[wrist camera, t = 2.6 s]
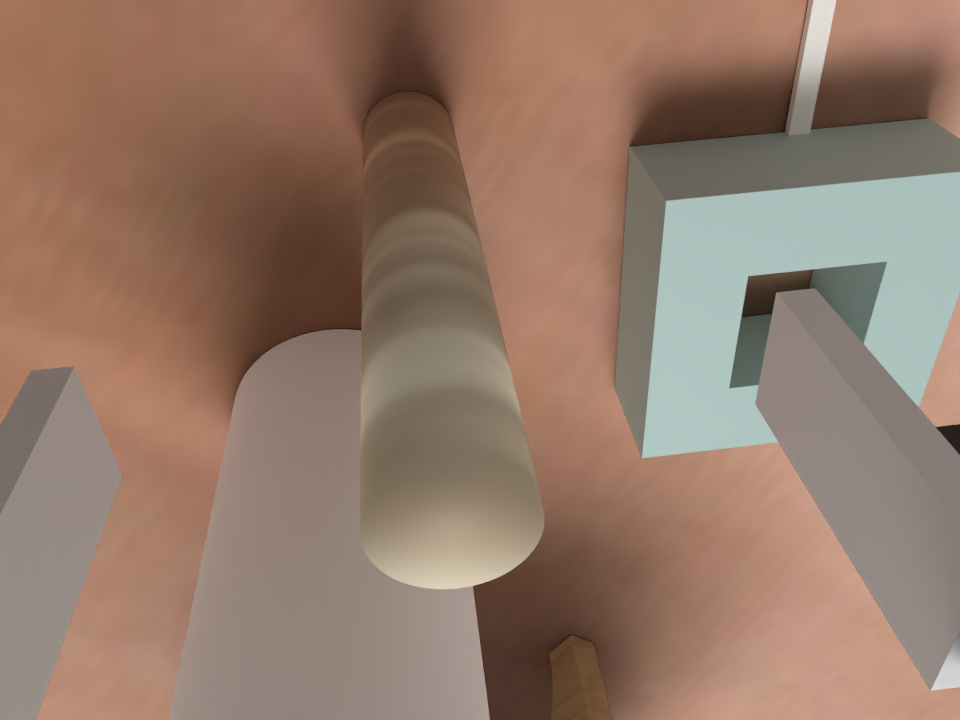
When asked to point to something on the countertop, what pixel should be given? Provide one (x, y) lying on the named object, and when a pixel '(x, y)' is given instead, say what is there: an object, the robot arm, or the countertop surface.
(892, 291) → the bead
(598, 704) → the planter
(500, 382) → the beige wooden dowel
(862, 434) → the robot arm
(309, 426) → the cup
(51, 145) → the countertop surface
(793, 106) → the cream stick
